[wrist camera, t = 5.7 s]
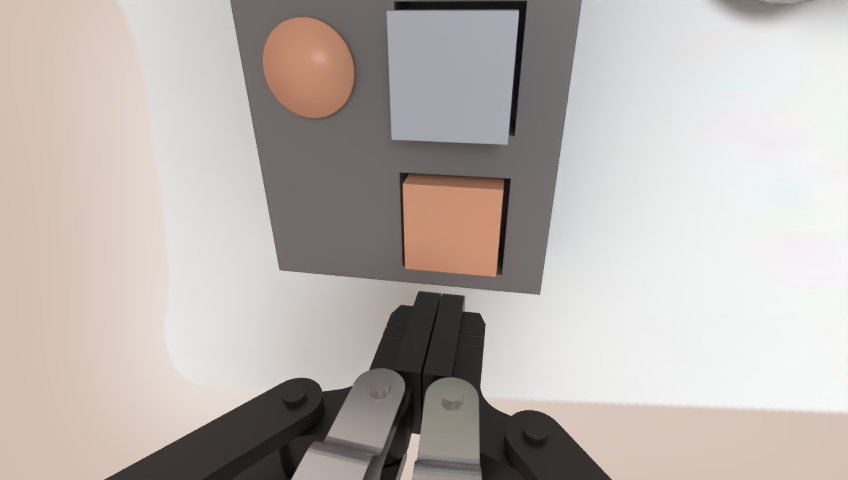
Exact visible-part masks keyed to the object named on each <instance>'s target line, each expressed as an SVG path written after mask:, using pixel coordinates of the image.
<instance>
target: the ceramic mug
mask: <svg viewBox="0 0 848 480" xmlns="http://www.w3.org/2000/svg"><path fill="white" fill-rule="evenodd" d="M756 1H758V2H761V3H764V4H769V5H790V4H796V3H801V2H805V1H810V0H756Z"/></svg>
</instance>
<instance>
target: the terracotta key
mask: <svg viewBox="0 0 848 480" xmlns="http://www.w3.org/2000/svg"><path fill="white" fill-rule="evenodd" d="M503 187H504V178H492V177H474V176H456V175H438V174H420V173H409V175H408V176H407V178H406V179H405V181H404V183H403V209H404V245H405V269H414V270H425V271H437V272H448V273H459V274H470V275H481V276H492V277H496V271H497V259H498V247H499V236H500V224H501V212H502V200H503Z"/></svg>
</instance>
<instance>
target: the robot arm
mask: <svg viewBox="0 0 848 480" xmlns="http://www.w3.org/2000/svg"><path fill="white" fill-rule="evenodd" d="M464 309H465V296H462V295H452V294H442V296H441V293H431V292H422V291H419V292H418V294H417V297H416V300H415V303H414V306H406V305H400V306H399V307H398V308H397V309H396V310H395V311H394V312H393V313H392V314H391V315H390V318H389V321H388V323H387V327H386V328H385V331H384V333H383V337H382V339H381V341H380V344H379V346H378V349H377V351H376V354H375V357H374V359H373V362H372V364H371V367H370V370H369V371H367V372H365V373H363V374H362V375H360V376H359V377H358V378H357V379H356V381H355V382H354V384H353V386H351V387H348V388H344V389H339V390H331V391H324V392H322V389H321V387H320V386H319V384H318V383H317V382H315V381H313V380H311V379H308V378H295V379H290V380H287V381H285V382H283V383H281V384H279V385H277V386H276V387H274V388H272V389H270V390H268V391H266V392H265V393H263V394H261V395H259V396H257V397H255V398H254V399H252V400H250V401H248V402H246V403H244V404H243V405H241V406H239V407H237V408H235V409H233V410H232V411H230V412H228V413H226V414H224V415H222V416H221V417H219V418H217V419H215V420H213V421H211V422H210V423H208V424H206V425H204V426H202V427H200V428H199V429H197V430H195V431H193V432H191V433H189V434H187V435H186V436H184V437H182V438H180V439H178V440H177V441H175V442H173V443H171V444H169V445H167V446H165V447H164V448H162V449H160V450H158V451H156V452H155V453H153V454H151V455H149V456H147V457H145V458H143V459H142V460H140V461H138V462H136V463H134V464H132V465H131V466H129V467H127V468H125V469H123V470H121V471H120V472H118V473H116V474H114V475H113V476H110V477H109V478H107V479H105V480H400V478H401V475H402V472H403V469H404V465H405V462H406V458H407V449H408V446H409V442H410V438H411V434H412V433H415V434H420V441H419V449H418V457H417V461H415V465H414V470H413V478H412V480H612V479H610V477H609V476H608V475H607V474H606V473H605V472H604V471H603V470H602V469H601V468H600V467H599V466H598V465H597V464H596V463H595V462H594V461H593V460H592V459H591V457H589V455H588V454H587V453H586V452H585V451H584V450H583V449H582V448H581V447H580V446H579V445H578V444H577V443H576V442H575V441H574V440H573V438H572V437H571V436H569V434H568V433H567V432H566V431H565V430H564V429H563V428H562V427H561V426H560V425H559V424H558V423H557V422H556V421H555V420H554V419H553V418H551V417H550V416H548V415H546V414H544V413H542V412H539V411H533V410H524V411H520V412H517V413H516V414H514V415H513V416H510V415H507V414H505V413H503V412H500V411H499V410H497V409H495V408H493V407H492V406H491V405H490V404H488V402H487V401H486V400H485V398H484V397H483V395H482V393H481V389H480V384H481V372H482V360H483V348H484V336H485V323H484V321H483V319H482V317H481V315H480V313H472V312H464Z"/></svg>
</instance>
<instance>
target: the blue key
mask: <svg viewBox="0 0 848 480" xmlns="http://www.w3.org/2000/svg"><path fill="white" fill-rule="evenodd" d="M518 18H519V10H518V9H471V10H394V11H387V32H388V58H389V84H390V110H391V136H392V140H412V141H435V142H458V143H480V144H503V145H508V136H509V124H510V112H511V100H512V89H513V77H514V65H515V53H516V41H517V30H518Z"/></svg>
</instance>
